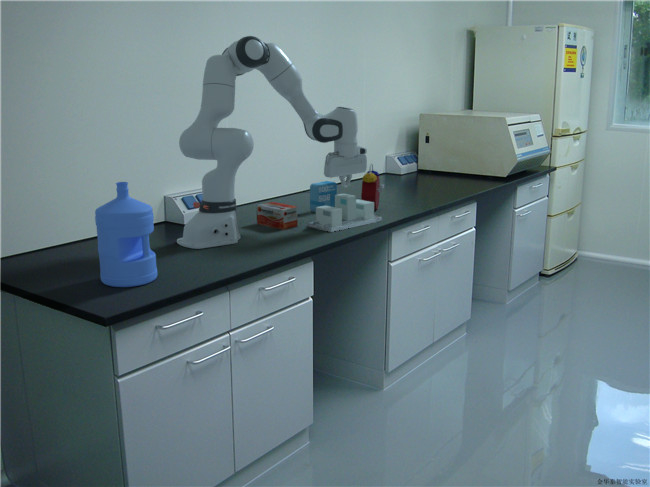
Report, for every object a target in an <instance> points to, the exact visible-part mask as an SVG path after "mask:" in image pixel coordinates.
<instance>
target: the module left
mask: <svg viewBox="0 0 650 487" xmlns="http://www.w3.org/2000/svg"><path fill="white" fill-rule="evenodd" d="M315 221H316V222H317V221H319V223H320V224H324V225H326V224H330V226H332V227H333V226H337V225H342V209H340V208H335V207H330V206H326V205H325V206H320V207H316V212H315Z"/></svg>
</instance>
